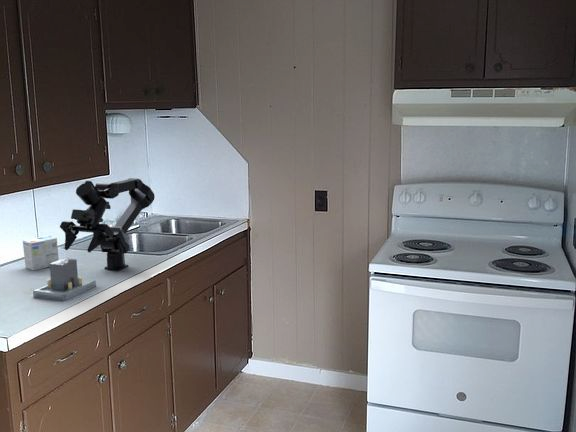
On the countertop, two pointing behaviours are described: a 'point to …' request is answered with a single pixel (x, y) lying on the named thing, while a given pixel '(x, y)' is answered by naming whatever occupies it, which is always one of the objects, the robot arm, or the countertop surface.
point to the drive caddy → (63, 274)
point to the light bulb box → (40, 252)
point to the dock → (62, 296)
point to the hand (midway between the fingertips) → (76, 250)
